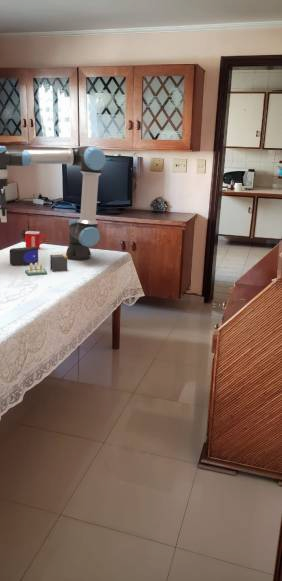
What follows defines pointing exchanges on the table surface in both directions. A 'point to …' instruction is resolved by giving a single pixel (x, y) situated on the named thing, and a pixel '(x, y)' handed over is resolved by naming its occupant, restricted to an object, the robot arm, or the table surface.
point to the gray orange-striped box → (58, 263)
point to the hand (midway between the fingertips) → (1, 219)
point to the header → (36, 270)
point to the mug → (33, 239)
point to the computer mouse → (23, 256)
